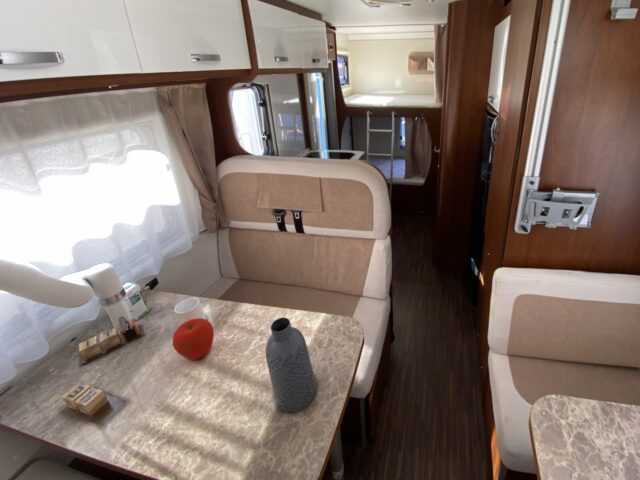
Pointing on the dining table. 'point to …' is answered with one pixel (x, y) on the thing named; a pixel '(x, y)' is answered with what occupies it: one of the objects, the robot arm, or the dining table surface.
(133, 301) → the syrup box
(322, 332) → the dining table surface
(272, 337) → the vase
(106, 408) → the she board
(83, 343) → the board
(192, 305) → the mug
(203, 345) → the apple
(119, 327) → the block
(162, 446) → the dining table surface
